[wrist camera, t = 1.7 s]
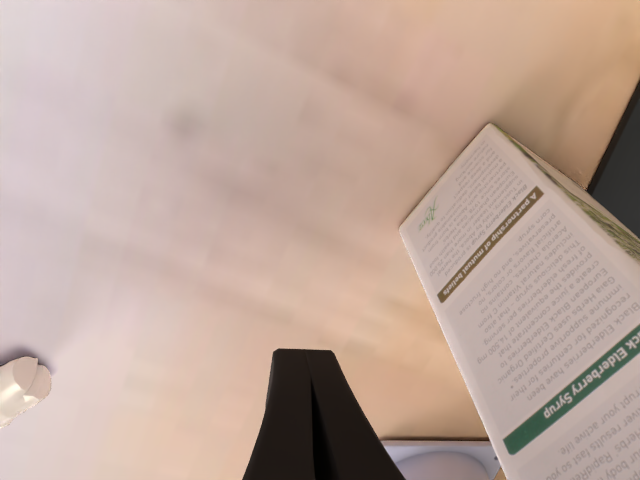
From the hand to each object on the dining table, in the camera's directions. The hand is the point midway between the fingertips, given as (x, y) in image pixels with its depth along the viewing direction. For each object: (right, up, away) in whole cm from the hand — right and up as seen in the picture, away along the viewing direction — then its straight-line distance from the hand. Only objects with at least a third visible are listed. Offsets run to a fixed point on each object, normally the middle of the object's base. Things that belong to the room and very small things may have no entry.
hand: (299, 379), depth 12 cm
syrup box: (+7, +5, +9) cm, 13 cm away
